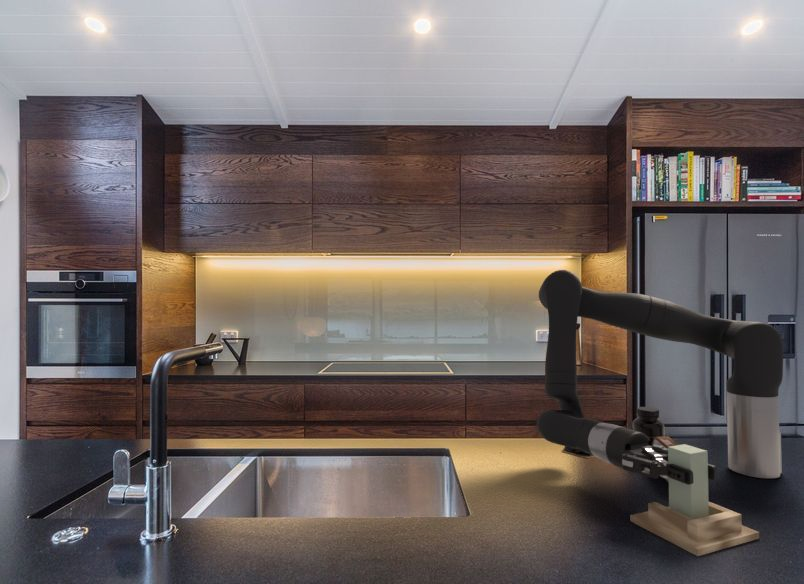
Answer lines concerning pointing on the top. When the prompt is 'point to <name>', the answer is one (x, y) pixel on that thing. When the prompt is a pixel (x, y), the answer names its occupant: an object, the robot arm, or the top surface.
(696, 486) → the green block
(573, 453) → the bread roll
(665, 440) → the tin
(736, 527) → the rack
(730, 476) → the top surface
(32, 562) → the top surface
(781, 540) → the top surface
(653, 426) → the supplement bottle
